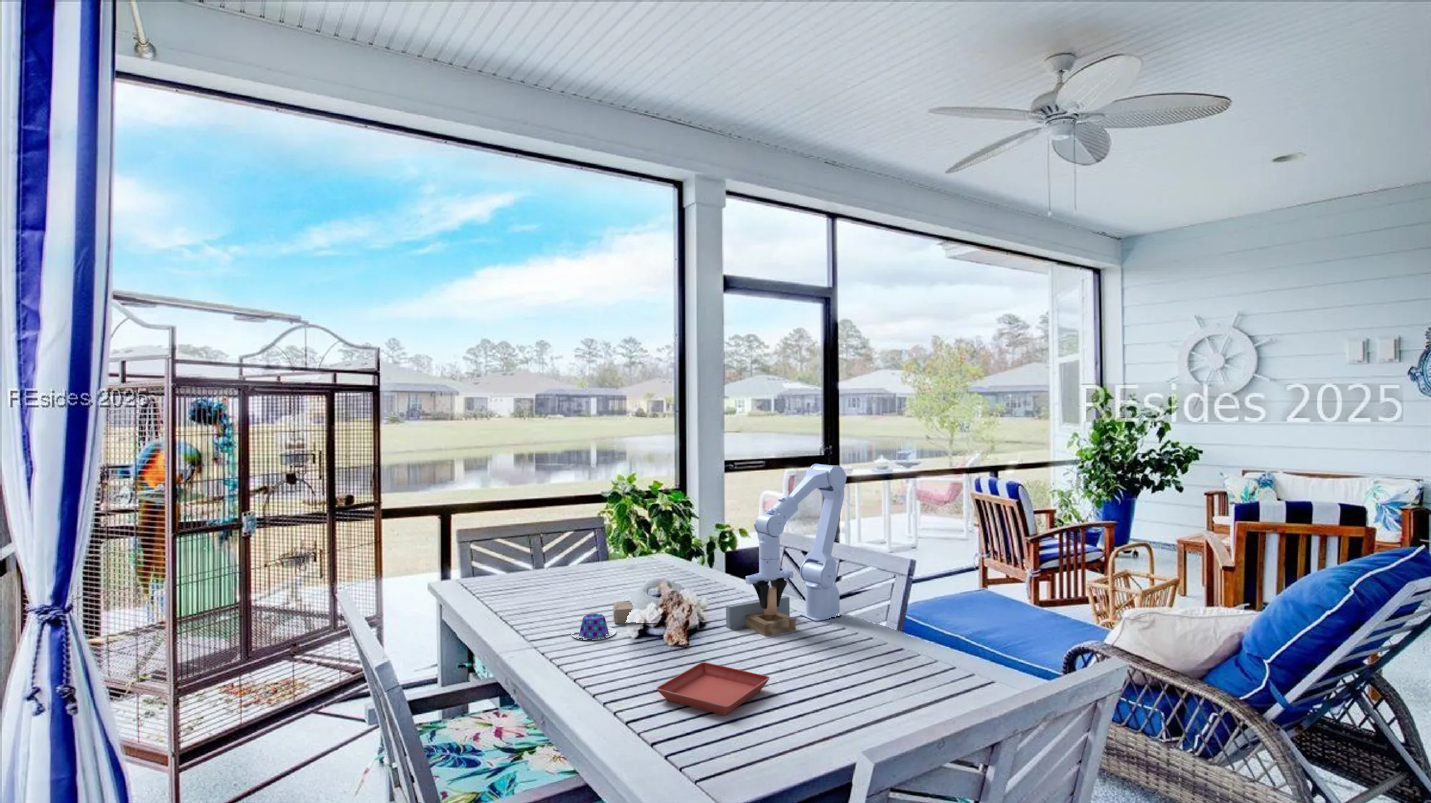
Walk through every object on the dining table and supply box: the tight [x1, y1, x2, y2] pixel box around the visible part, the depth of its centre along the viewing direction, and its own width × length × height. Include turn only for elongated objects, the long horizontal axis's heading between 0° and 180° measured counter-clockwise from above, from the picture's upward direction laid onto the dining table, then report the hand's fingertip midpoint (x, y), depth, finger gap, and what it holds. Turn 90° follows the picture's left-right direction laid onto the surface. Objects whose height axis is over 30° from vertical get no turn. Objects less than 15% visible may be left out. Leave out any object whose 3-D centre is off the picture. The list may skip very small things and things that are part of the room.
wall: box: [725, 595, 791, 630], centre depth 209 cm, size 20×2×6 cm, turn 119°
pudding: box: [571, 613, 617, 641], centre depth 200 cm, size 12×12×5 cm
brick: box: [612, 601, 633, 625], centre depth 214 cm, size 17×8×5 cm, turn 99°
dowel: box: [764, 585, 777, 615], centre depth 204 cm, size 4×4×7 cm
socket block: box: [744, 611, 797, 637], centre depth 204 cm, size 10×10×3 cm
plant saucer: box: [656, 661, 771, 716], centre depth 158 cm, size 18×18×3 cm
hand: (770, 606), depth 204 cm, fingers closed on dowel, 3 cm apart
